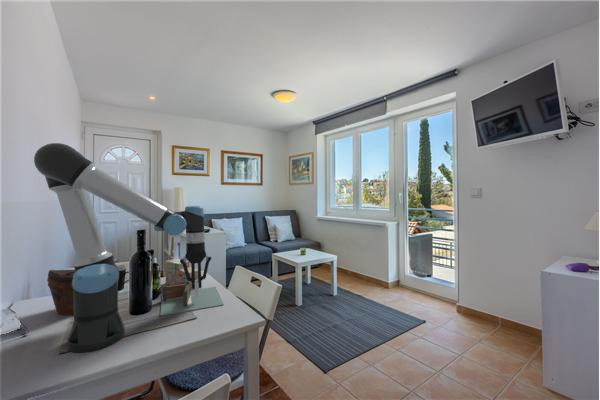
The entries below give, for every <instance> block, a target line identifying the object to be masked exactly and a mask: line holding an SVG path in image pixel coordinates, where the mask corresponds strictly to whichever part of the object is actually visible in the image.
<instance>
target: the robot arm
mask: <svg viewBox="0 0 600 400" xmlns="http://www.w3.org/2000/svg"><path fill="white" fill-rule="evenodd" d="M33 162H34V166H35V168H36V169H37V171H38V172H39V173H40V174H42V175H43V176H44V178H45V181H46V184H47V187H48V189H49V190H50V191H52V192H54V193H55V194H56V195H57V196H56V197H57V199H58V202H59V205H60V208H61V211H62V214H63V218H64V221H65V223H66V228H67V231H68V234H69V236H70V239H71V240H70V241H71V243H72V247H73V249H74V252H75V256H76V261H75V262H74V263H73V268H74V270H75V273H74V275H73V280H72V286H73V308H74V314H73V323H72V325H71V328H70V332H69V335H68V336H67V341H66V348H67V350H68V351H69V352H71V353H86V352H92V351H98V350H100V349H103V348H107V347H109V346H111V345H114V343H116V342H118V341H120V340H121V339H122V338H124V336H125V332H126V328H125V327H126V326H125V324H124V323H125V322H124V321H123V319H122V317H121V315H120V312H119V293H118V292H119V291H118V279H119V269H118V267H119V266H117V264H116V262H115V258H114V256H113V253H112V252H110V251H108V250H107V248H106V245H105V243H104V239H103V235H102V232H101V229H100V224H99V222H98V219H97V216H96V212H95V209H94V205H93V202H92V199H91V196H90V193H91V194H93V195H95V196H96V197H98V198H100V199H102V200H104V201H106V202H108V203H110V204H112V205H114V206H116V207H117V208H120V209H122V210H123V211H125V212H127V213H130V214H131V215H133V216H135V217H137V218H139V219H140V220H143V221H144V222H147V223H148V224H150V225H152V226H153V229H154V231H156V232H165V233H166V234H168V235H169V236H179V235H182V234H183V233H184V232H185V241H186V243H185V248H186V249H185V250H186V253H185V256H184V257H182V258H180V262H181V264H182V265H183V268H184V271H185V274H186V278H187V281H191V282H192V289H195V297H199V289H202V286H203V285H202V281H203V280H205V279H206V278H207V273H208V268H209V263H210V261H212V256H211V255H208V254H207V252H206V246H205V245H206V243H205V239H206V238H205V235H206V234H205V213H204V212H205V210H204V207H203V206H201V205H187V206H185V208H184V210H183V211H172V210H171V209H169V208H167V207H166V206H164V205H162V204H160V203H159V202H157V201H155V200H154V199H151V198H150V197H148V196H146V195H145V194H143V193H141V192H139V191H138V190H136V189H134V188H133V187H130V186H128V185H127V184H126V183H123V182H122V181H119V180H118V179H117V178H115V177H113V176H111V175H110V174H108V173H105V172H104V171H102V170H100V169H99V168H97V167H96V164H95V162H93V161H91V160H89V159H87V158H86V157H84V155H83V154H81V152H79V151H78V150H76V149H75V148H73V147H72V146H70V145H68V144H65V143H61V142H58V143H57V142H54V143H48V144H45V145H43V146H41V147H40V148H38V149H37V151H36V152H35V153H34V157H33ZM204 259H205V264H204V269H203V273H202V263H203V261H204ZM186 261H189V264H190V265H191V266H190V267H191V270H192V277H190V274H189V271H188V268H187V264H186ZM195 264H197V269H198V280H195V269H196V268H195V266H196V265H195Z"/></svg>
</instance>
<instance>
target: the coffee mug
mask: <svg viewBox="0 0 600 400" xmlns="http://www.w3.org/2000/svg"><path fill="white" fill-rule="evenodd" d="M117 267H118V269H119V279H118V292H119V291H122V290H124V289H125V284H126V283H127V282H129V281H130V280H129V279H127V280H126V275H127V274H130V273H129V272H130V271H127V267H124V266H117ZM125 280H126V281H125Z"/></svg>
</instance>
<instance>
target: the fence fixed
mask: <svg viewBox="0 0 600 400" xmlns="http://www.w3.org/2000/svg"><path fill="white" fill-rule="evenodd" d="M186 285H189V286H190V281H187V282H186V284H180V285H162V291H161V293H162V294H163V301H166V299H173V298H179V297H183V291H184V290H185V288H186ZM162 294H161V295H162Z"/></svg>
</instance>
